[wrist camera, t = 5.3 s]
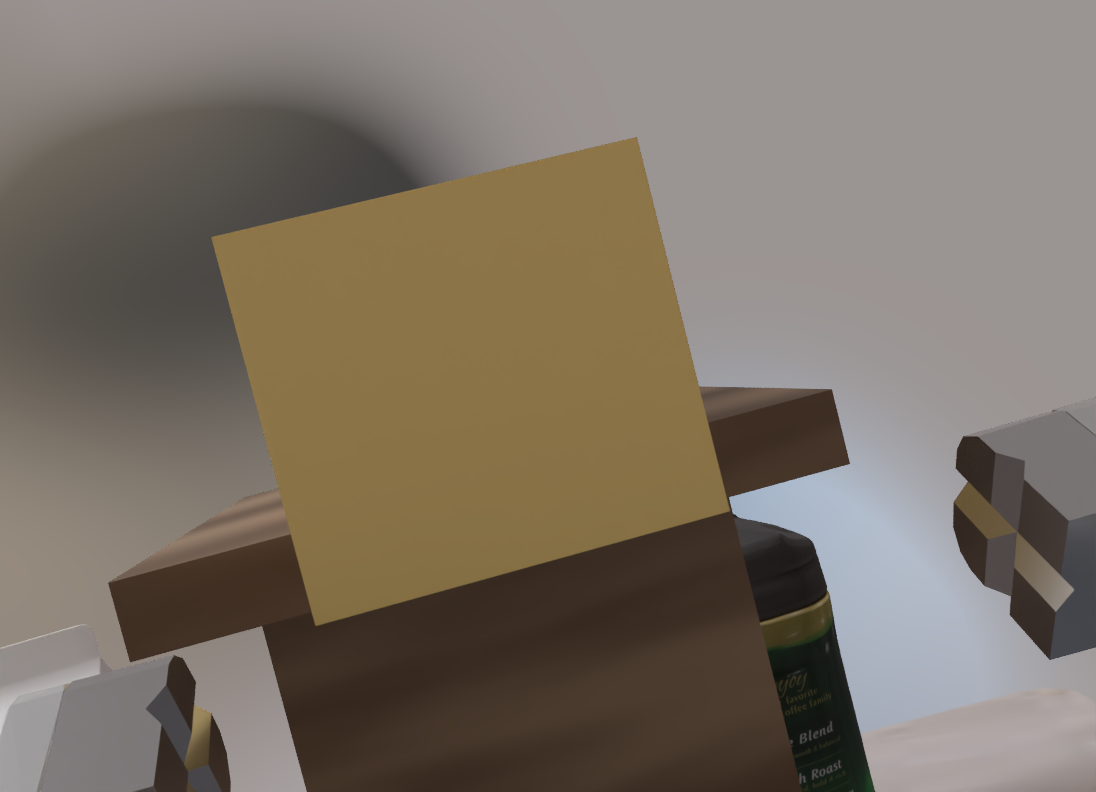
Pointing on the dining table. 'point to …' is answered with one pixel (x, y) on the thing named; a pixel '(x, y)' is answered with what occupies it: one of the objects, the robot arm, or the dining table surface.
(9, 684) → the milk
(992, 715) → the dining table surface
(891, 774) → the dining table surface
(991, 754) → the dining table surface
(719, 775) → the walnut stand
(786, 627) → the coffee jar
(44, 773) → the robot arm
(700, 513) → the yellow bar
